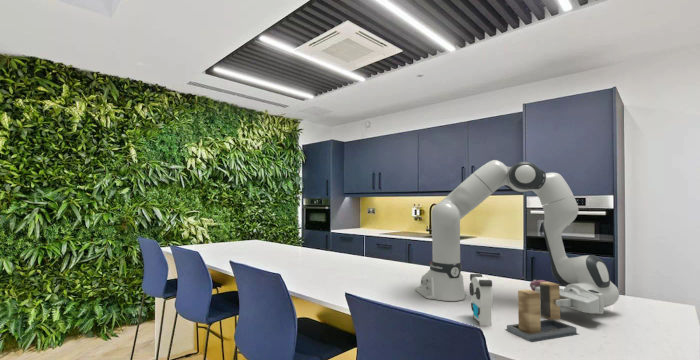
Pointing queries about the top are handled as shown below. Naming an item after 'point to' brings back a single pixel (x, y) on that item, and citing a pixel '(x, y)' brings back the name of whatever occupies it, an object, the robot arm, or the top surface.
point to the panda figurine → (481, 298)
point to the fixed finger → (529, 311)
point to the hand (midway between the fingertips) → (547, 300)
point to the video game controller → (536, 284)
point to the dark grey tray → (545, 331)
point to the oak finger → (549, 300)
